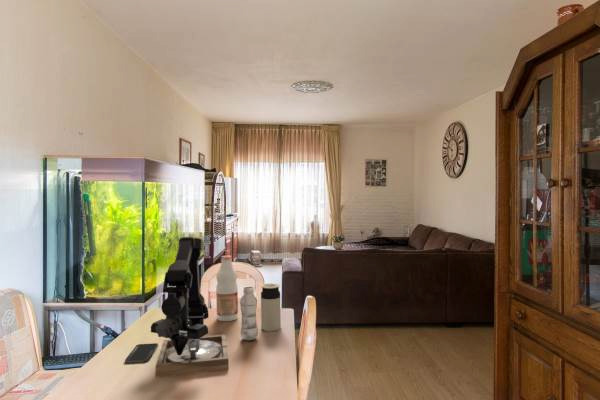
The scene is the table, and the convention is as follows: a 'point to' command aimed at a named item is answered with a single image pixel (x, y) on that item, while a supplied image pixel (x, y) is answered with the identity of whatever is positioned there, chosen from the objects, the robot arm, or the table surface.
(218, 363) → the square wooden tray
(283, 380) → the table surface
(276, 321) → the travel mug
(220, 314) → the fruit juice
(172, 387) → the table surface
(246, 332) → the plastic bottle
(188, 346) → the dial
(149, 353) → the phone
